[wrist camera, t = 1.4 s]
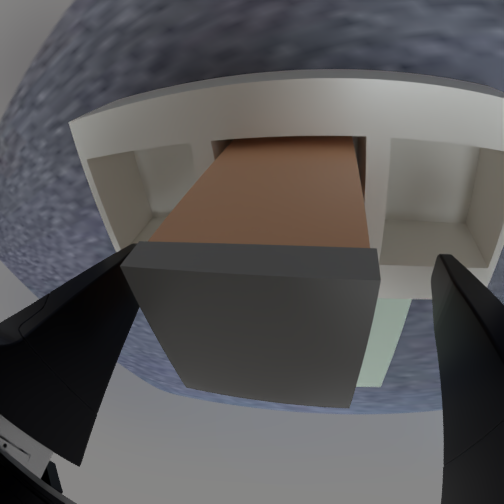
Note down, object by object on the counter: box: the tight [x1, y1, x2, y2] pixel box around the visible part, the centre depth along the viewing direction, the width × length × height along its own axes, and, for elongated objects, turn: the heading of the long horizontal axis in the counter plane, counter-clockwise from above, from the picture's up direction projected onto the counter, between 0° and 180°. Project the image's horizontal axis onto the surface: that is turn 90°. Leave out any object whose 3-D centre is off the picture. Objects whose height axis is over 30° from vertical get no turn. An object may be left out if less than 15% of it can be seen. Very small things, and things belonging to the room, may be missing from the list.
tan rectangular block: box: [120, 136, 381, 408], centre depth 10 cm, size 5×5×10 cm
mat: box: [356, 298, 412, 387], centre depth 22 cm, size 12×12×1 cm
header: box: [69, 69, 504, 299], centre depth 13 cm, size 18×9×4 cm, turn 97°
